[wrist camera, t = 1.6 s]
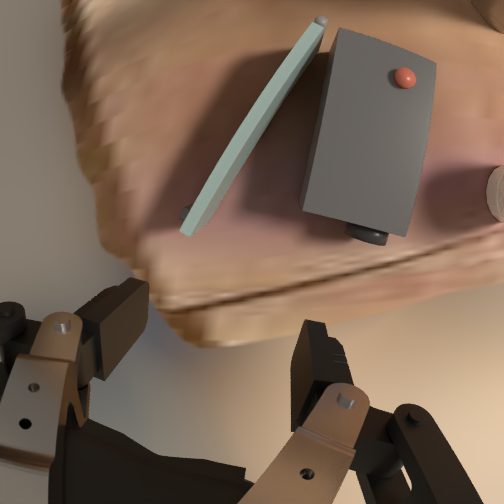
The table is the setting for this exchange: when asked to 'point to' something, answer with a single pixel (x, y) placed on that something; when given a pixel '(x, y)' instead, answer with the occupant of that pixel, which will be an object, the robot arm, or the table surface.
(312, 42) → the side door
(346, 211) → the camera housing
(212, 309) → the table surface
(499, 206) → the white cup
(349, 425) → the robot arm
